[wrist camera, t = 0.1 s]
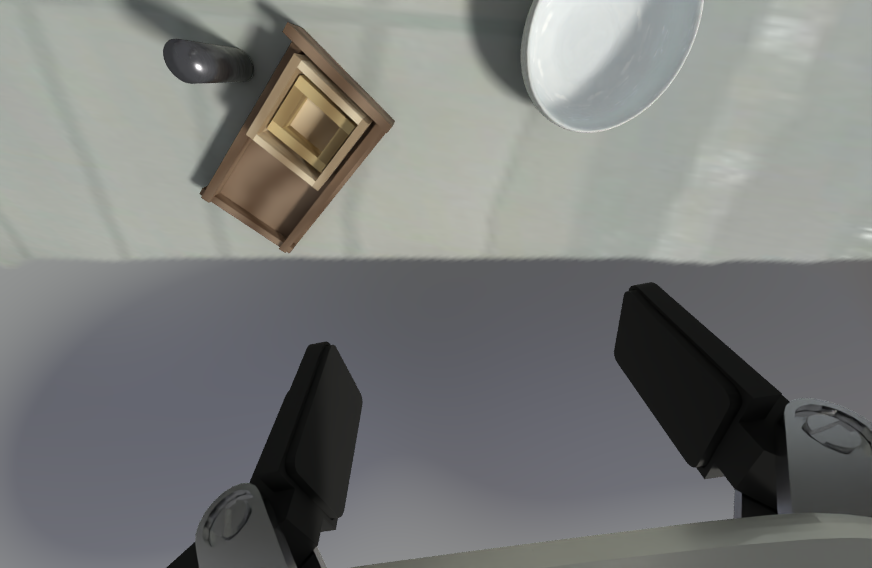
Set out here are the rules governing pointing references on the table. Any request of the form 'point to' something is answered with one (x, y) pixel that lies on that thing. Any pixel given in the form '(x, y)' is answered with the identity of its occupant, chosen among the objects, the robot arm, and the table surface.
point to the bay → (273, 181)
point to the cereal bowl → (604, 57)
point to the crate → (308, 122)
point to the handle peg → (206, 62)
